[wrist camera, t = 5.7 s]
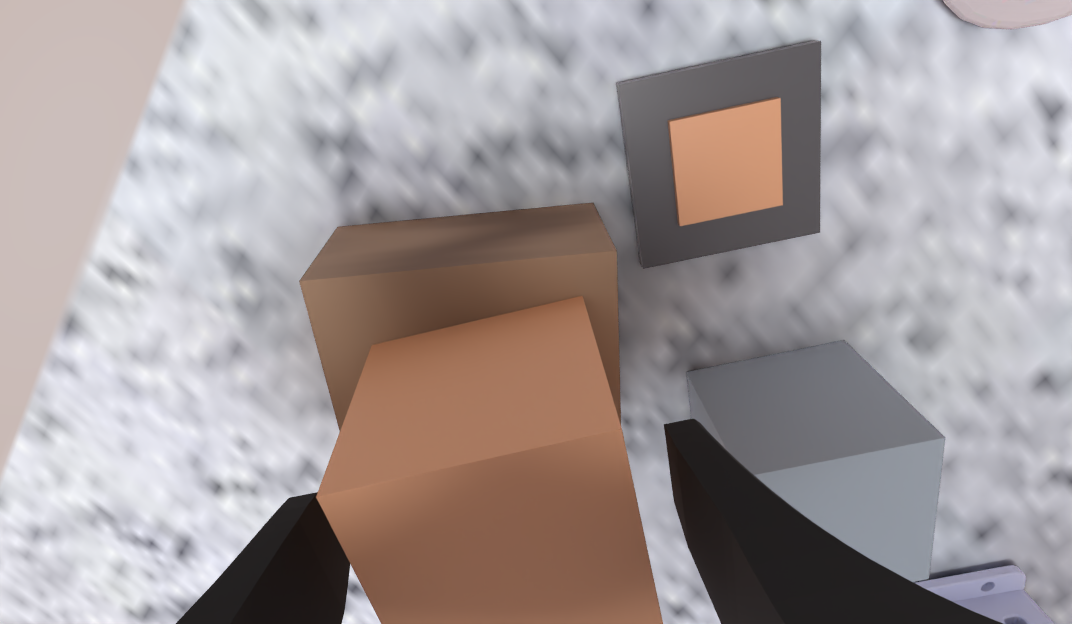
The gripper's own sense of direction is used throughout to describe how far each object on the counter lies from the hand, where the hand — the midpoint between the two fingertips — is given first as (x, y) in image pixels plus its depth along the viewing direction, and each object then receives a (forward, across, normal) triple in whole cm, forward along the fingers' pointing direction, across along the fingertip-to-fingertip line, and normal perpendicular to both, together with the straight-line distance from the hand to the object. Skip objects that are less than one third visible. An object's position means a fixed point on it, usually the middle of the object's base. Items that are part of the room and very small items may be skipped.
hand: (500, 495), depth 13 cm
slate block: (+7, -8, +5) cm, 12 cm away
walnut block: (+7, 0, 0) cm, 7 cm away
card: (+7, -7, -4) cm, 10 cm away
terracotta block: (+3, 0, 0) cm, 3 cm away
